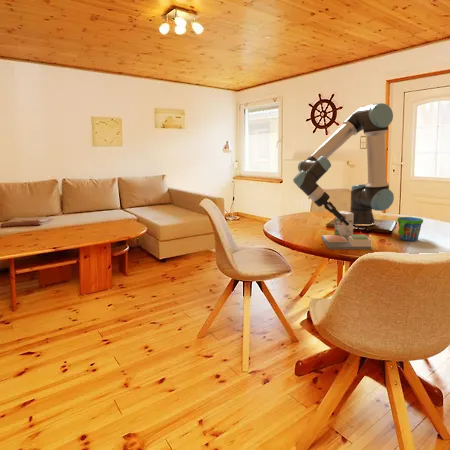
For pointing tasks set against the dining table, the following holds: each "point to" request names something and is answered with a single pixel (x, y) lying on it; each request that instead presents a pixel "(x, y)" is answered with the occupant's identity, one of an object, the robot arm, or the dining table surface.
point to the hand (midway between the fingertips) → (350, 227)
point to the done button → (359, 237)
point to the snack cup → (409, 228)
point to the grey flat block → (345, 242)
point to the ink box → (340, 227)
